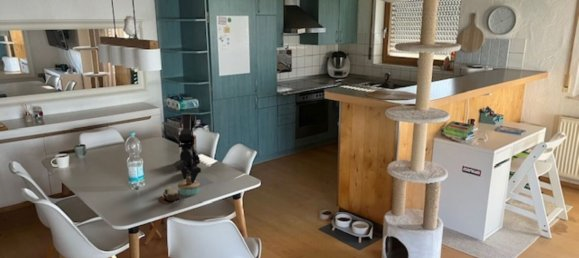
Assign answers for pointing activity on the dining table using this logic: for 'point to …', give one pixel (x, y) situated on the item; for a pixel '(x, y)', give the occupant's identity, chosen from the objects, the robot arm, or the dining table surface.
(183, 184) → the lid
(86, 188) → the dining table surface
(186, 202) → the dining table surface
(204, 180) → the mat
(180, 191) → the bowl
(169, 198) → the skull
